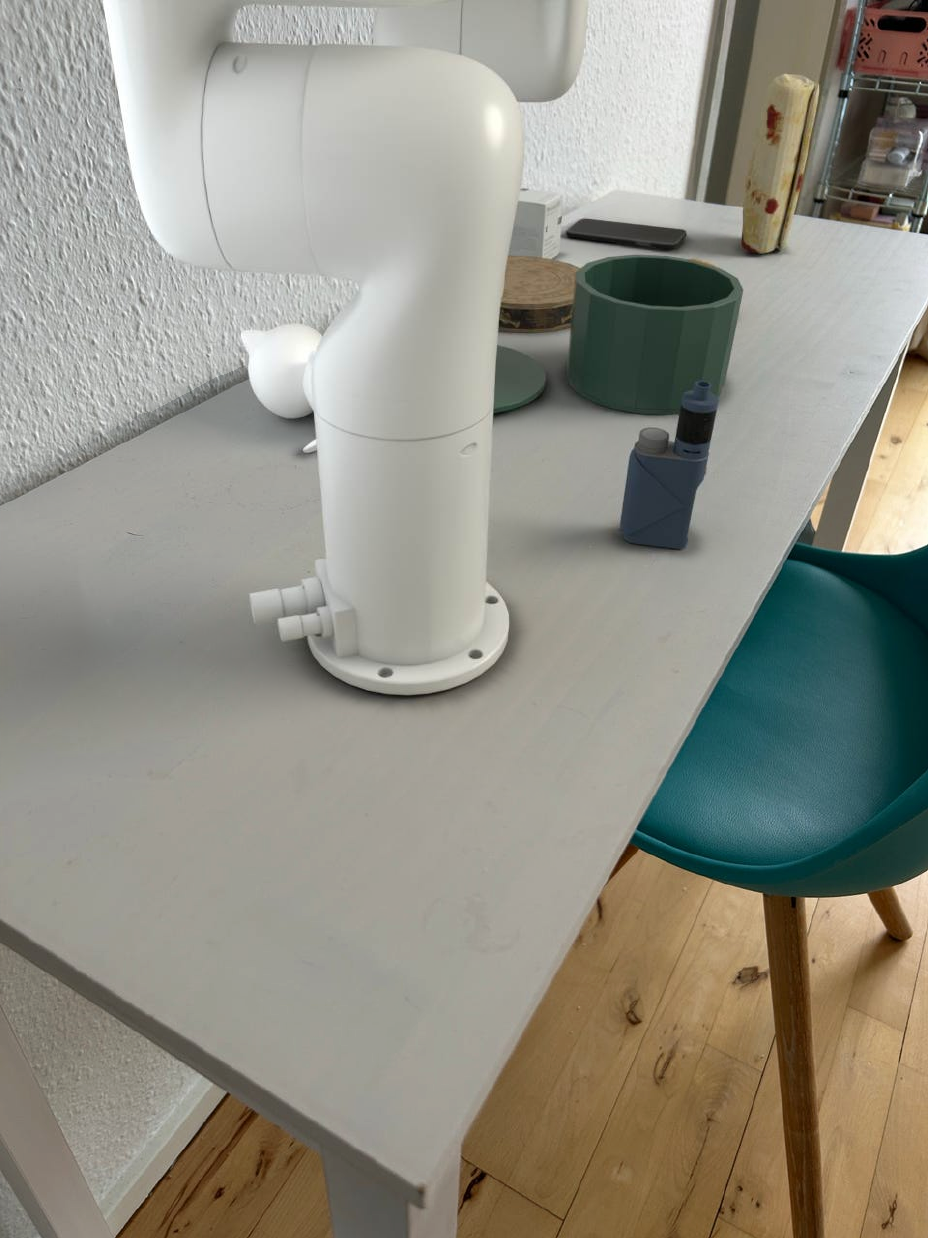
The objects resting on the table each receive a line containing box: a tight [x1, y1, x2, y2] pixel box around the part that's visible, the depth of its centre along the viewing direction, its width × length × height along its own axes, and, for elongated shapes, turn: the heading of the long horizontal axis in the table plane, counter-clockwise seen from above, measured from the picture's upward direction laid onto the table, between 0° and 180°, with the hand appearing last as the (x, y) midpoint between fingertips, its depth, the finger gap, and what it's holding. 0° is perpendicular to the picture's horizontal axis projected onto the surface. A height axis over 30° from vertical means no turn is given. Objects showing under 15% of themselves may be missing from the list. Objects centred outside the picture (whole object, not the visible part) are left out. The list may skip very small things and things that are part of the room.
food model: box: [740, 73, 820, 254], centre depth 118 cm, size 10×7×20 cm
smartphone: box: [566, 218, 687, 251], centre depth 127 cm, size 7×1×15 cm
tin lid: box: [493, 344, 547, 414], centre depth 87 cm, size 16×16×7 cm
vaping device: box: [619, 381, 720, 550], centre depth 65 cm, size 3×5×12 cm, turn 78°
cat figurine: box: [240, 322, 323, 454], centre depth 80 cm, size 9×11×12 cm
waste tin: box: [566, 254, 744, 416], centre depth 88 cm, size 15×15×10 cm
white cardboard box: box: [508, 187, 564, 259], centre depth 117 cm, size 6×6×7 cm
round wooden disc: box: [498, 256, 581, 334], centre depth 105 cm, size 16×16×3 cm
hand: (461, 363), depth 88 cm, fingers open, 5 cm apart
